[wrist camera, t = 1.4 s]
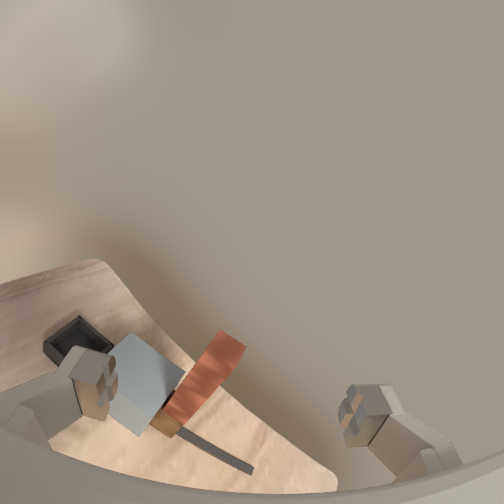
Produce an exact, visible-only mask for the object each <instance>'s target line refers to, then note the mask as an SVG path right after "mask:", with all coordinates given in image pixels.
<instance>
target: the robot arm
mask: <svg viewBox="0 0 504 504" xmlns="http://www.w3.org/2000/svg"><path fill="white" fill-rule="evenodd" d="M115 366H116V360H115V357H114V356H113V355H109V354H105V353H102V352H98V351H95V350H91V349H86V348H83V347H80V346H77V345H75V346H73V347H72V348H71V350H70V351H69V353H68V354H67V355H66V357H65V358H64V360H63V361H62V363H61V364H60V365H59V367H58V368H57V370H56V371H55V373H53V372H50V373H47V374H45V375H43V376H40V377H38V378H36V379H33V380H31V381H28V382H26V383H24V384H21V385H19V386H17V387H14V388H12V389H9V390H7V391H4V392H2V393H0V504H504V449H503V450H501V451H499V452H496V453H494V454H491V455H489V456H486V457H484V458H481V459H478V460H476V461H473V462H470V463H467V464H464V465H463V463H462V461H461V460H460V458H459V456H458V454H457V452H456V450H455V448H454V446H453V445H452V443H451V442H450V441H448V440H447V439H445V438H444V437H442V436H441V435H439V434H438V433H436V432H435V431H433V430H432V429H431V428H429V427H428V426H426V425H425V424H423V423H422V422H420V421H419V420H417V419H416V418H414V417H413V416H412V415H410V414H409V413H404V411H403V409H402V407H401V405H400V403H399V401H398V399H397V397H396V395H395V393H394V391H393V389H392V387H391V386H390V385H389V384H376V385H375V384H368V385H351V386H350V387H349V388H348V390H347V392H346V393H347V396H348V397H347V398H346V399H344V400H343V401H342V403H341V405H340V407H339V413H338V416H339V422H340V425H341V426H342V427H344V428H345V431H344V433H343V436H344V439H345V443H346V446H347V447H365V446H368V448H369V449H370V450H371V452H372V453H374V454H375V456H377V458H379V460H380V461H382V463H383V464H384V465H386V467H387V468H388V469H389V470H391V472H393V474H395V476H397V478H396V479H395V480H394V481H393V482H392V483H391V484H386V485H381V486H375V487H368V488H361V489H354V490H345V491H335V492H323V493H305V494H254V493H236V492H224V491H214V490H205V489H197V488H190V487H184V486H177V485H172V484H166V483H161V482H156V481H151V480H147V479H142V478H138V477H134V476H130V475H126V474H122V473H119V472H115V471H112V470H108V469H105V468H101V467H98V466H95V465H92V464H89V463H86V462H83V461H80V460H77V459H75V458H72V457H69V456H66V455H64V454H61V453H59V452H56V451H54V450H52V448H51V446H50V444H49V442H48V440H49V439H50V438H52V437H53V436H55V435H56V434H58V433H59V432H61V431H62V430H64V429H65V428H67V427H68V426H69V425H71V424H72V423H74V422H75V421H77V420H78V419H79V418H81V417H82V415H83V416H86V417H90V418H93V419H97V420H101V421H105V419H106V416H107V414H108V412H109V409H110V405H109V401H111V400H113V399H114V398H115V395H116V392H117V388H118V374H117V373H116V372H115V370H114V368H115Z"/></svg>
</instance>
